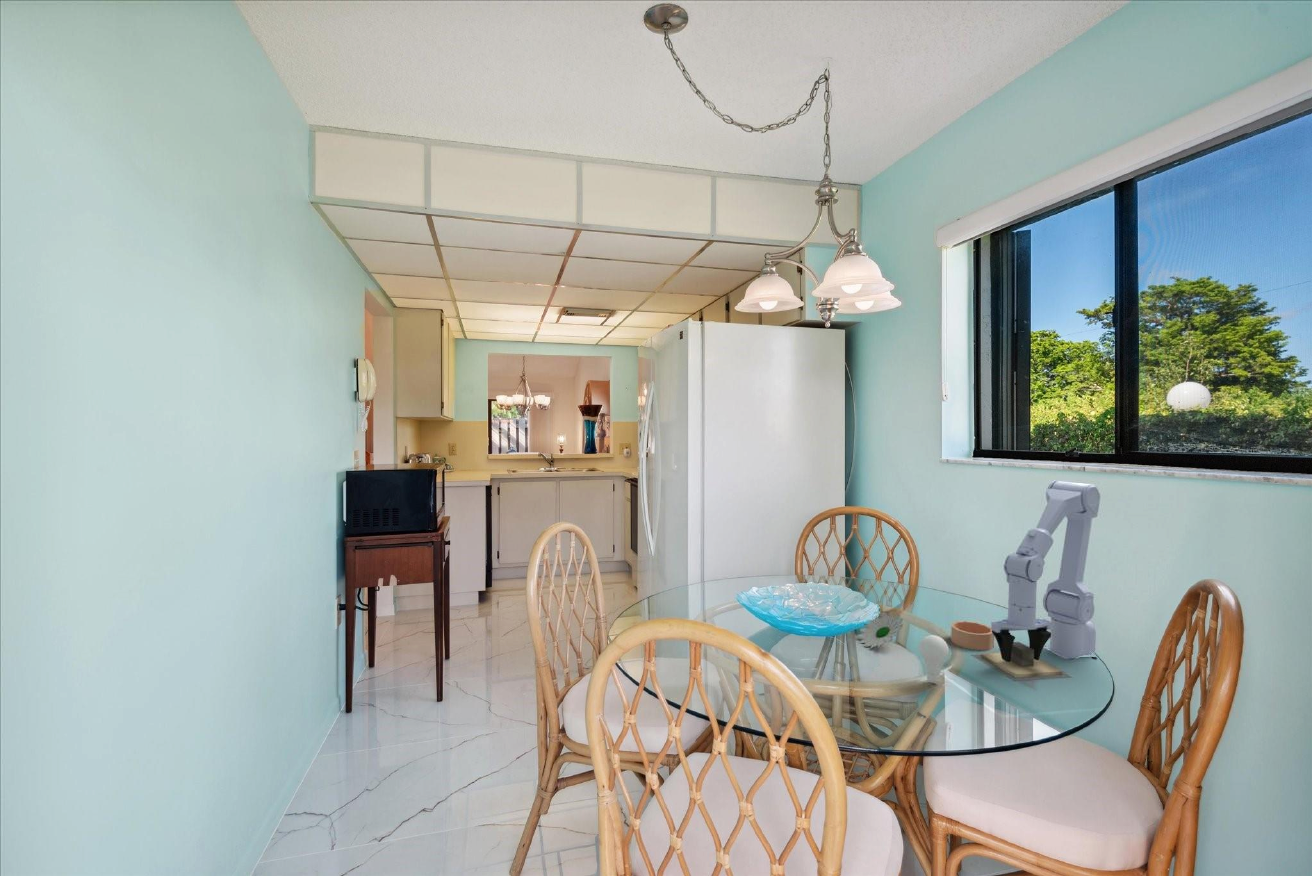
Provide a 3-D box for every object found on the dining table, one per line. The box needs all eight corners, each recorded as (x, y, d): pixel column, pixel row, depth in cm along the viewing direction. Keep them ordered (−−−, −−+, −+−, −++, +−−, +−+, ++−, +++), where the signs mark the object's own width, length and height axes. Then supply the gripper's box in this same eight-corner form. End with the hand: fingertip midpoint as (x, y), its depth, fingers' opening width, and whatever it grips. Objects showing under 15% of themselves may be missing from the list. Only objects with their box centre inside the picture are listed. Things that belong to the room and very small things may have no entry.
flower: (867, 594, 187) (907, 617, 157) (877, 610, 186) (919, 635, 156) (831, 618, 186) (864, 645, 156) (841, 634, 186) (876, 663, 156)
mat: (1025, 653, 157) (1025, 651, 157) (1072, 679, 142) (1072, 677, 142) (971, 656, 155) (971, 654, 155) (1014, 683, 140) (1014, 681, 140)
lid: (1024, 654, 155) (1024, 635, 155) (1062, 674, 143) (1062, 654, 143) (980, 656, 153) (981, 638, 153) (1015, 677, 141) (1016, 657, 141)
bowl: (976, 636, 168) (977, 620, 168) (1002, 650, 159) (1002, 633, 158) (943, 638, 167) (943, 622, 167) (966, 652, 157) (967, 635, 157)
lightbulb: (940, 677, 143) (941, 631, 142) (952, 689, 136) (953, 641, 136) (914, 677, 143) (915, 630, 142) (924, 689, 137) (926, 640, 136)
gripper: (1036, 597, 153) (1034, 651, 153) (983, 600, 150) (981, 654, 151) (1059, 606, 146) (1057, 662, 146) (1003, 609, 143) (1001, 666, 144)
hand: (1020, 659), depth 148 cm, fingers open, 7 cm apart
